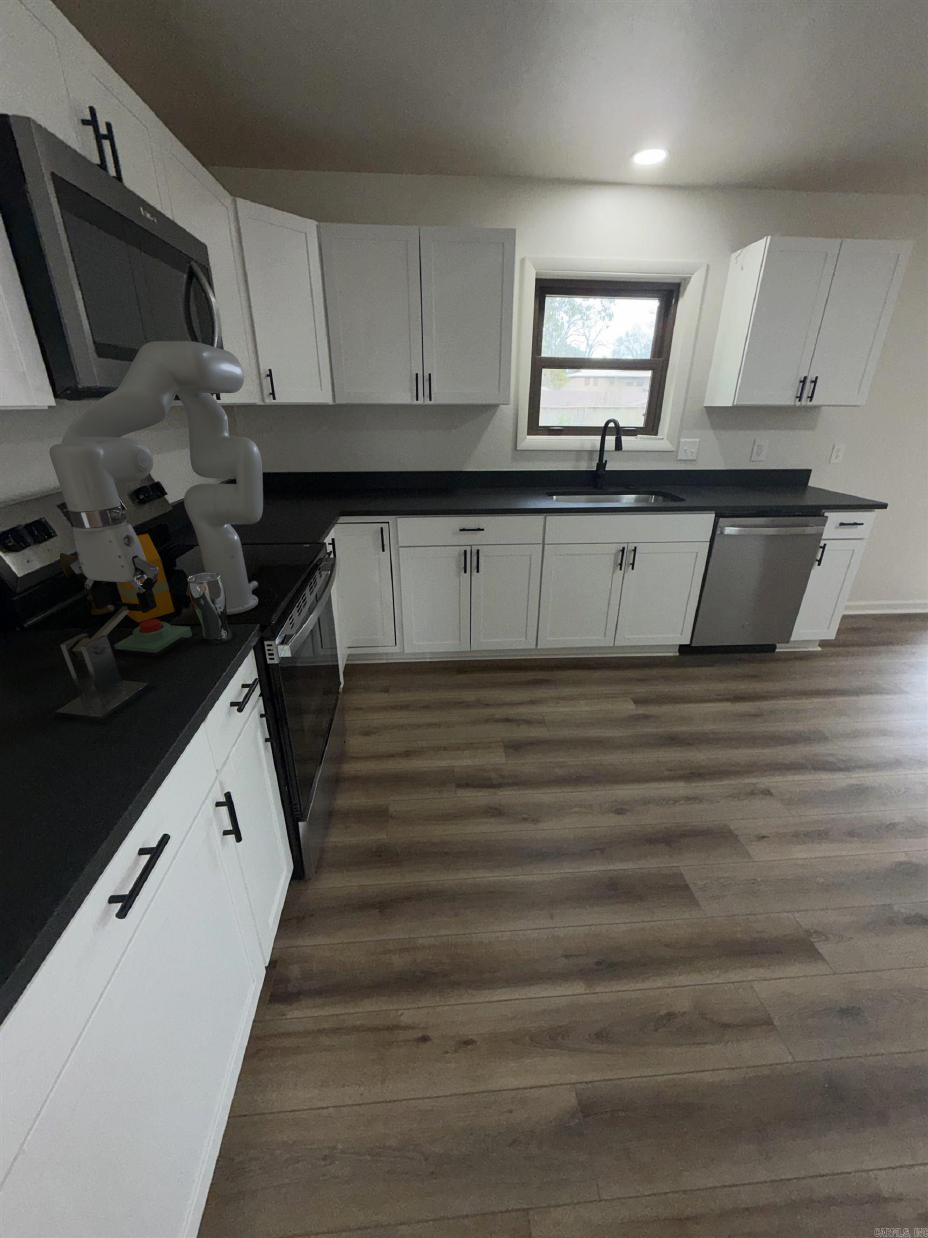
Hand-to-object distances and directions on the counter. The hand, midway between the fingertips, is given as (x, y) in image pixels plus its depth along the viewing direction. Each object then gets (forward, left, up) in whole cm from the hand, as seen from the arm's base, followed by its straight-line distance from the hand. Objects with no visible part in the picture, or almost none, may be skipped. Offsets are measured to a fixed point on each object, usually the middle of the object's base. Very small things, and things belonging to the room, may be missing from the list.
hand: (126, 608), depth 93 cm
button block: (-12, -8, -15) cm, 20 cm away
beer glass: (-17, +4, -15) cm, 23 cm away
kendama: (-25, -34, -15) cm, 45 cm away
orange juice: (-27, -22, -15) cm, 38 cm away
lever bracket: (+10, 0, -15) cm, 18 cm away
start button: (-12, -8, -11) cm, 18 cm away
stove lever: (+5, 0, -3) cm, 6 cm away
